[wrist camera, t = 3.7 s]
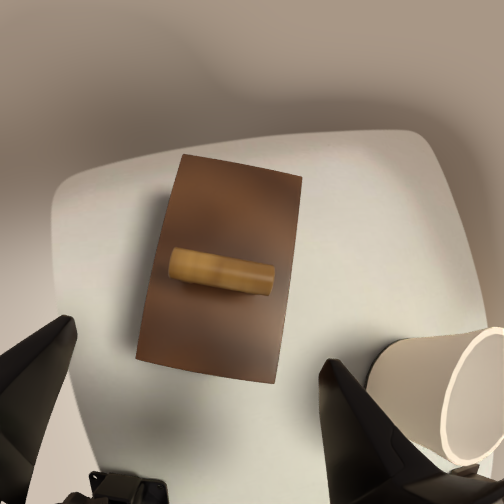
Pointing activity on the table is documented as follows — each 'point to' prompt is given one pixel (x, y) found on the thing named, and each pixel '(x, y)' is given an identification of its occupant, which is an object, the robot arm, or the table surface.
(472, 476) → the stand
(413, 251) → the table surface
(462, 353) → the mug
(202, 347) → the lid
